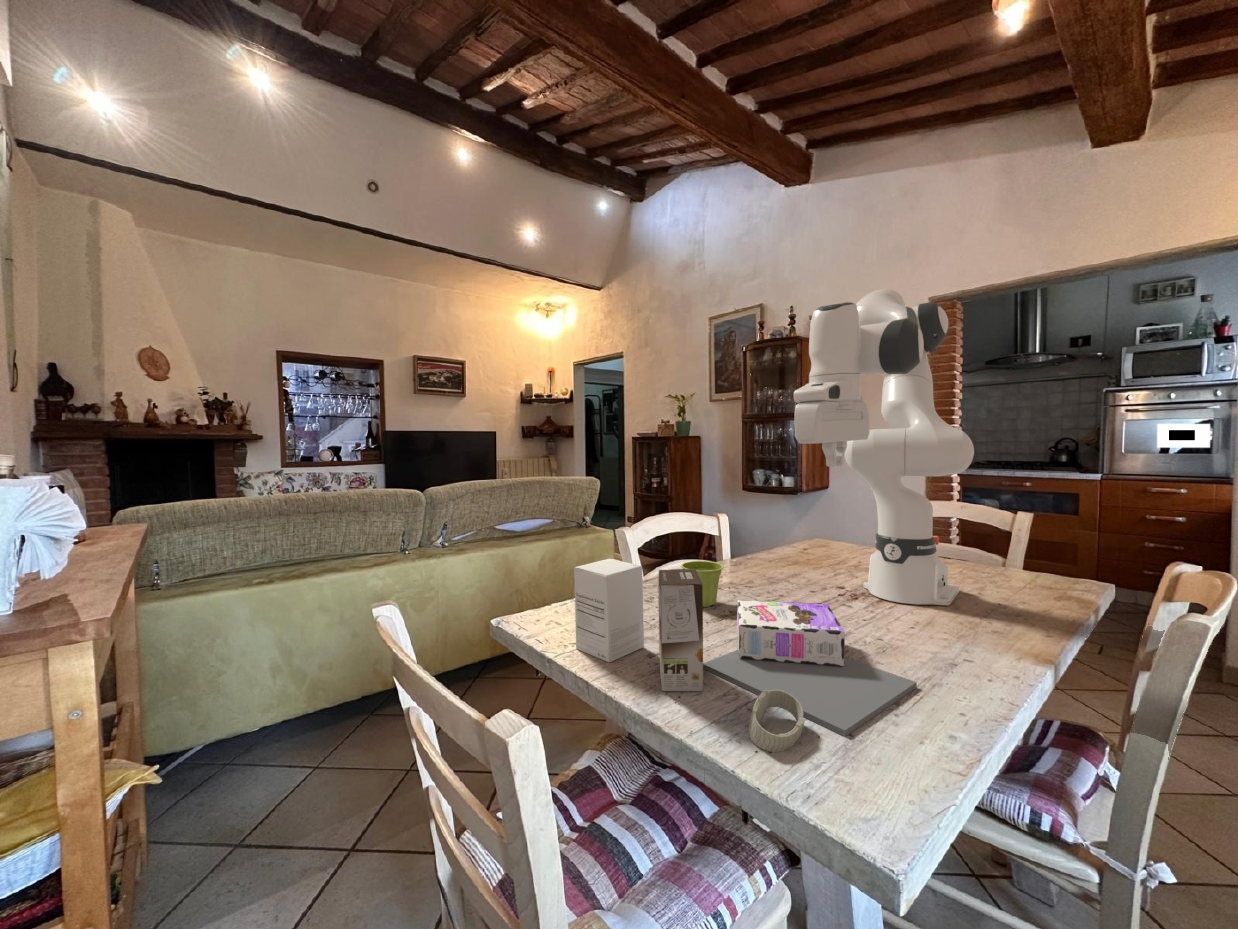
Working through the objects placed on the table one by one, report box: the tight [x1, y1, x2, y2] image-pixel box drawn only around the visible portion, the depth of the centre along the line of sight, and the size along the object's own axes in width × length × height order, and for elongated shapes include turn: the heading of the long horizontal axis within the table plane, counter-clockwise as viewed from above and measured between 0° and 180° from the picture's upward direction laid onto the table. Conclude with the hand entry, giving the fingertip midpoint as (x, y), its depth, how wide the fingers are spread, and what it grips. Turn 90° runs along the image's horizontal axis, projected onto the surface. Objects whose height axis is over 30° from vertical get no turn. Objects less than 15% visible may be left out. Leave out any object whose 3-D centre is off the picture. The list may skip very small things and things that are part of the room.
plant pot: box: [680, 560, 724, 608], centre depth 114 cm, size 9×9×9 cm
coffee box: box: [657, 568, 704, 692], centre depth 78 cm, size 9×6×16 cm
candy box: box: [736, 599, 846, 666], centre depth 87 cm, size 14×6×16 cm
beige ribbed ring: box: [748, 689, 805, 753], centre depth 63 cm, size 9×6×5 cm
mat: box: [703, 648, 918, 738], centre depth 78 cm, size 20×24×1 cm
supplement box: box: [573, 558, 645, 663], centre depth 90 cm, size 9×9×15 cm
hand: (834, 466), depth 94 cm, fingers closed
